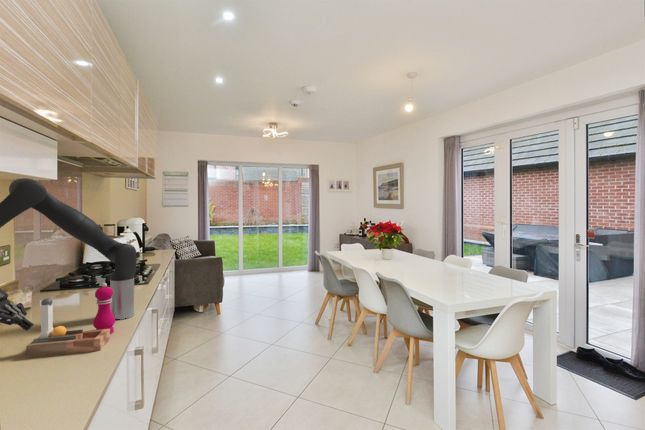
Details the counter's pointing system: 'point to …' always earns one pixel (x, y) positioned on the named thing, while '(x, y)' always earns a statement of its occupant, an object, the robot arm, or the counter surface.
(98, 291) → the pepper mill
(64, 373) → the counter surface
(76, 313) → the counter surface
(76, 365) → the counter surface
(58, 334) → the ball
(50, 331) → the launcher plunger
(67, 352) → the launcher track
